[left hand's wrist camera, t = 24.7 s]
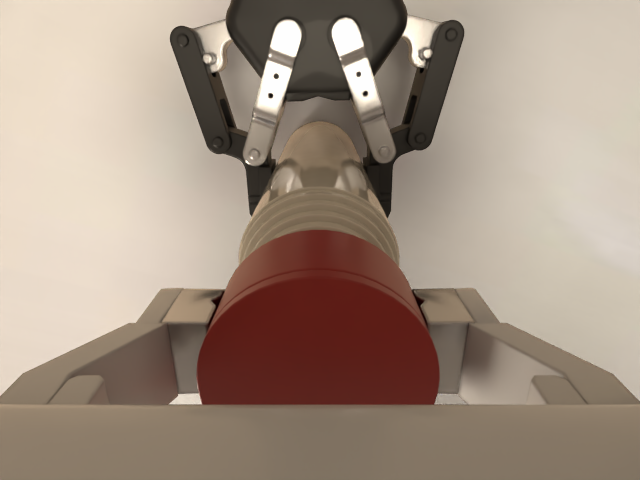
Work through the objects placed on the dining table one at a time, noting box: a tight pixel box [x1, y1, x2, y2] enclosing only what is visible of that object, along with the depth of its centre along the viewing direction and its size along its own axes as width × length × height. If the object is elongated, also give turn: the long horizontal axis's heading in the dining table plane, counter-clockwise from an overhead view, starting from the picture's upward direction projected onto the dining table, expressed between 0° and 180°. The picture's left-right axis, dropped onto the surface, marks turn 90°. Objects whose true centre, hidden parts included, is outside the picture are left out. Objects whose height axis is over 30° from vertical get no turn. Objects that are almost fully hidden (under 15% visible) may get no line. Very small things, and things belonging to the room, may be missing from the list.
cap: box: [196, 230, 440, 405], centre depth 9 cm, size 5×5×2 cm
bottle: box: [239, 121, 399, 267], centre depth 19 cm, size 5×5×22 cm
